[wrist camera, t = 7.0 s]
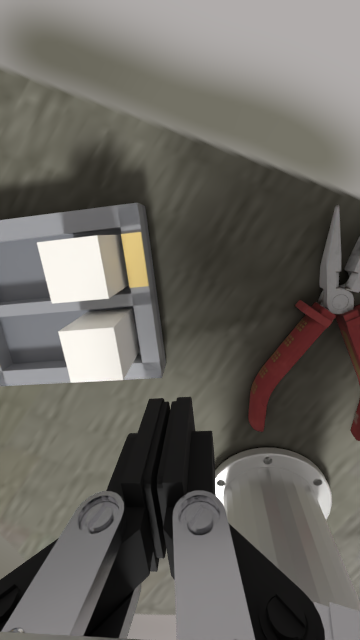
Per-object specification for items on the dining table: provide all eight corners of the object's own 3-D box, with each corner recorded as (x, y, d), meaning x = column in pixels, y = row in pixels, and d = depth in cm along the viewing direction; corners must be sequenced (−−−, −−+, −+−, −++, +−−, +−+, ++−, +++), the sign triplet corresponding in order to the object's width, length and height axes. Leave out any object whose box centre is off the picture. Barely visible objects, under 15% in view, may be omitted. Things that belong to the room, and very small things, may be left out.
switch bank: (166, 363, 26) (161, 378, 24) (11, 372, 28) (-10, 387, 26) (145, 206, 22) (136, 202, 20) (-34, 228, 24) (-65, 228, 22)
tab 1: (128, 284, 23) (108, 298, 18) (82, 289, 24) (51, 303, 19) (120, 234, 22) (97, 235, 17) (72, 240, 22) (36, 242, 18)
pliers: (426, 210, 21) (456, 207, 19) (362, 429, 27) (377, 449, 25) (273, 204, 22) (281, 200, 20) (243, 418, 28) (247, 436, 26)
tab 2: (139, 351, 25) (123, 379, 20) (96, 354, 25) (70, 382, 20) (132, 308, 24) (113, 327, 19) (87, 312, 24) (58, 331, 19)
